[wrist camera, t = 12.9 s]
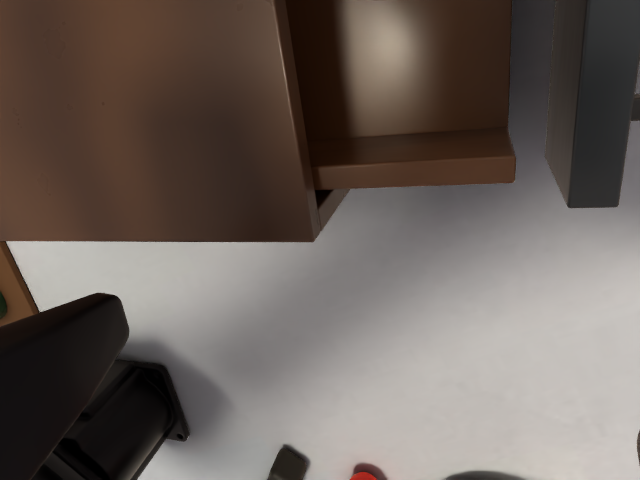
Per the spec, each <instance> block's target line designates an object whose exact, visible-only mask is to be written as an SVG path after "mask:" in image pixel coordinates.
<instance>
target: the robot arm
mask: <svg viewBox="0 0 640 480" xmlns="http://www.w3.org/2000/svg"><path fill="white" fill-rule="evenodd" d="M128 337H129V326H128V323H127V319H126V316H125V312H124V309H123V306H122V302H121V300H120V299H119V298H118V297H117V296H115V295H111V294H105V293H95V294H92V295H89V296H86V297H83V298H80V299H77V300H75V301H72V302H69V303H66V304H63V305H60V306H57V307H55V308H52V309H49V310H46V311H43V312H40V313H37V314H35V315H32V316H29V317H26V318H23V319H20V320H17V321H15V322H12V323H9V324H6V325H3V326H0V480H137V479H138V477H139V476H140V475H141V473H142V472H143V470H144V469H145V468H146V466H147V465H148V463H149V462H150V461H151V459H152V458H153V456H154V455H155V454H156V452H157V451H158V449H159V448H160V447H161V445H162V444H163V442H164V441H165V440H166V439H171V440H177V441H186V440H187V438H188V437H189V435H190V433H189V430H188V427H187V425H186V422H185V419H184V416H183V413H182V411H181V408H180V405H179V402H178V400H177V397H176V394H175V391H174V389H173V386H172V383H171V380H170V378H169V375H168V372H167V370H166V368H165V367H164V366H162V365H159V364H151V363H142V362H133V361H124V360H115V359H116V358H117V356H118V355H119V353H120V351H121V350H122V348H123V347H124V345H125V343H126V342H127V340H128ZM637 452H638V458H639V464H640V431H639V434H638V438H637Z"/></svg>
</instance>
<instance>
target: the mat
mask: <svg viewBox="0 0 640 480" xmlns="http://www.w3.org/2000/svg"><path fill="white" fill-rule="evenodd" d="M0 292H1V293H2V295H3V296H4V299H5V301H6V305H7V313H6V315H5V316H4V318H2V319H1V320H0V326H3V325H6V324H9V323H12V322H15V321H17V320H20V319H23V318H26V317H29V316H32V315H35V314H37V313H39V312H38V310H37V308H36V306H35V304H34V301H33V299H32V297H31V295H30V293H29V291H28V289H27V287H26V285H25V283H24V281H23V279H22V276H21V274H20V272H19V270H18V268H17V266H16V264H15V262H14V260H13V258H12V256H11V254H10V252H9V249H8V247H7V245H6V243H5V241H0Z"/></svg>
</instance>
